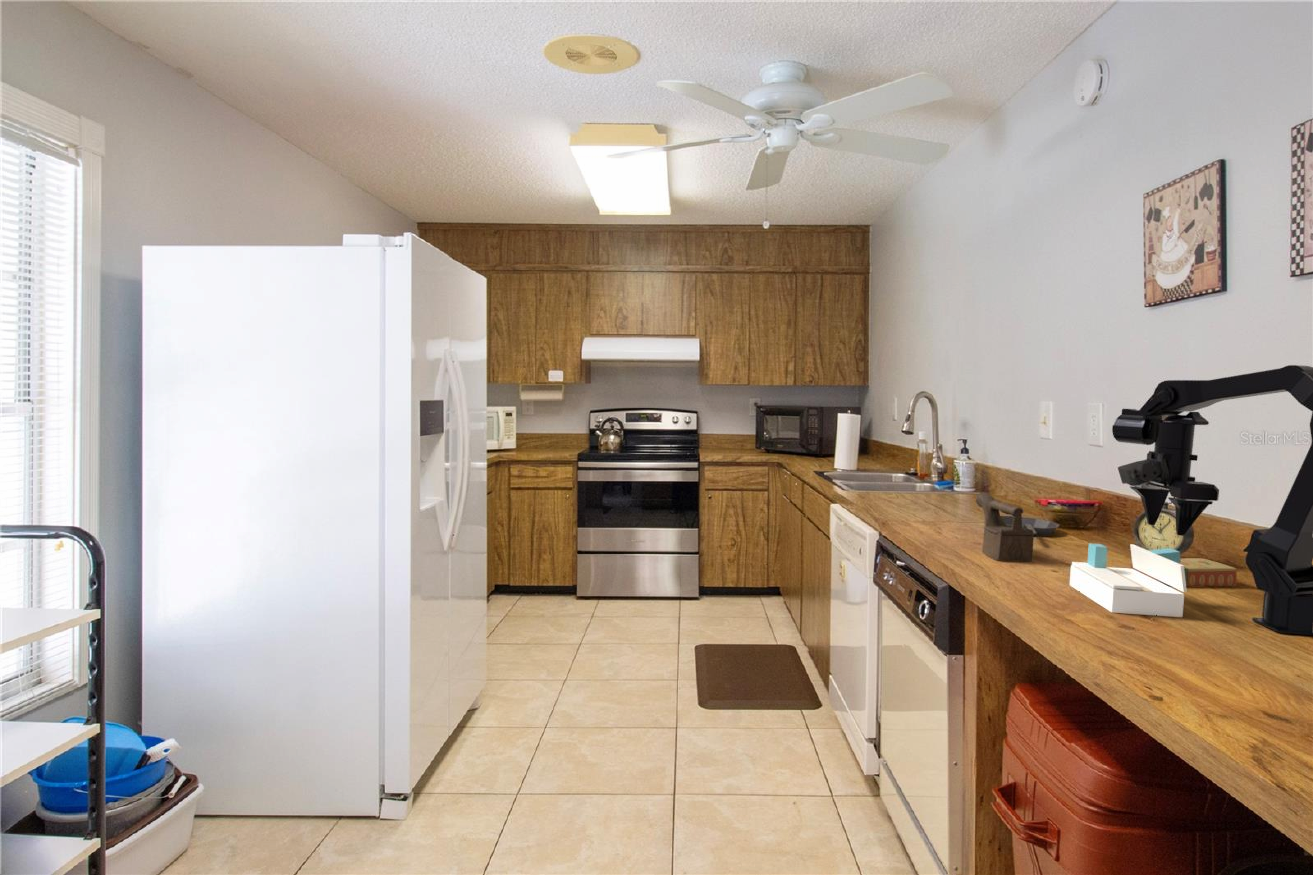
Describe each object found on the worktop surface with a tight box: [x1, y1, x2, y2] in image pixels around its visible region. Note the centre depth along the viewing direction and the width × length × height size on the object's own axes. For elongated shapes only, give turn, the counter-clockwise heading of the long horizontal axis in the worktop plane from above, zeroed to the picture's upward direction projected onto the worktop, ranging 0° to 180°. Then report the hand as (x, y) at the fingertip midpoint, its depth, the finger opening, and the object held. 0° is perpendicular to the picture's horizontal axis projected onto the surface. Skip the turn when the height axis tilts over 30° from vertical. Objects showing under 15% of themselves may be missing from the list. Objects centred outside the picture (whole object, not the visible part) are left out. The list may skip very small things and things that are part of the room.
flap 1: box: [1071, 542, 1143, 590], centre depth 127 cm, size 17×4×4 cm, turn 171°
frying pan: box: [1000, 515, 1060, 537], centre depth 184 cm, size 18×32×4 cm, turn 158°
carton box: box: [1069, 564, 1185, 618], centre depth 127 cm, size 17×11×4 cm, turn 171°
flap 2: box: [1129, 543, 1188, 593], centre depth 125 cm, size 17×4×4 cm
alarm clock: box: [1133, 496, 1195, 555], centre depth 159 cm, size 11×5×16 cm, turn 25°
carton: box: [1129, 557, 1238, 588], centre depth 142 cm, size 8×16×4 cm, turn 94°
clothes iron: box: [975, 491, 1035, 562], centre depth 161 cm, size 8×16×13 cm, turn 1°
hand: (1165, 529), depth 131 cm, fingers open, 9 cm apart
